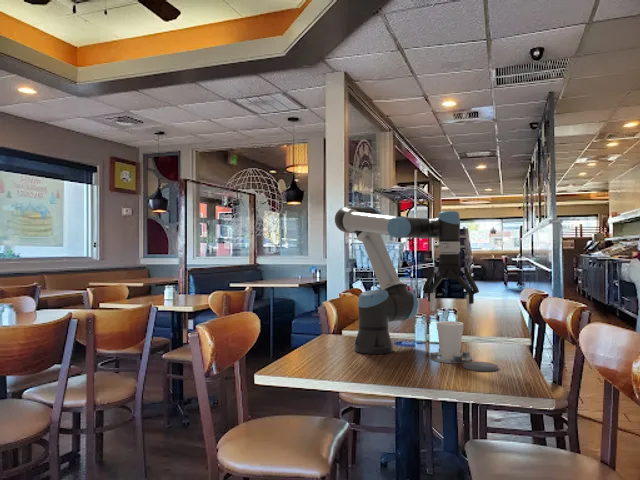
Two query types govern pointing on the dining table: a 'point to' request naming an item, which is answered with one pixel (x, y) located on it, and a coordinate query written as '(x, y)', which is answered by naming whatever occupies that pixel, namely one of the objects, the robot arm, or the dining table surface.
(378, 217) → the robot arm
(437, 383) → the dining table surface
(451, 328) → the foam cup
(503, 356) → the dining table surface
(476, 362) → the coaster
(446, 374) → the dining table surface
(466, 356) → the collar
